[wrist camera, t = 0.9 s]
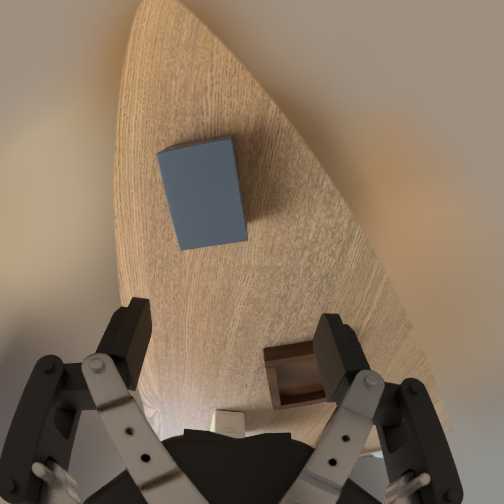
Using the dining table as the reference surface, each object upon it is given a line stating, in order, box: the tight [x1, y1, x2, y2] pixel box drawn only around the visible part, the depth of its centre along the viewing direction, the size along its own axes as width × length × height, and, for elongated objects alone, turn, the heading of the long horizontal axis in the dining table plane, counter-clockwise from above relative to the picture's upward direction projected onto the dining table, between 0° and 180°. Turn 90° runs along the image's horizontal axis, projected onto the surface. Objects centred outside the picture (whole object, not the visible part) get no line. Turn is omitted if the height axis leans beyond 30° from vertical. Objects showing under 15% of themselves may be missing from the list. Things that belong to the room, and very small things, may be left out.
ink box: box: [209, 410, 245, 438], centre depth 36 cm, size 9×5×15 cm, turn 167°
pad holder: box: [263, 341, 327, 410], centre depth 35 cm, size 12×9×2 cm
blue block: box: [157, 135, 248, 250], centre depth 22 cm, size 8×6×4 cm
